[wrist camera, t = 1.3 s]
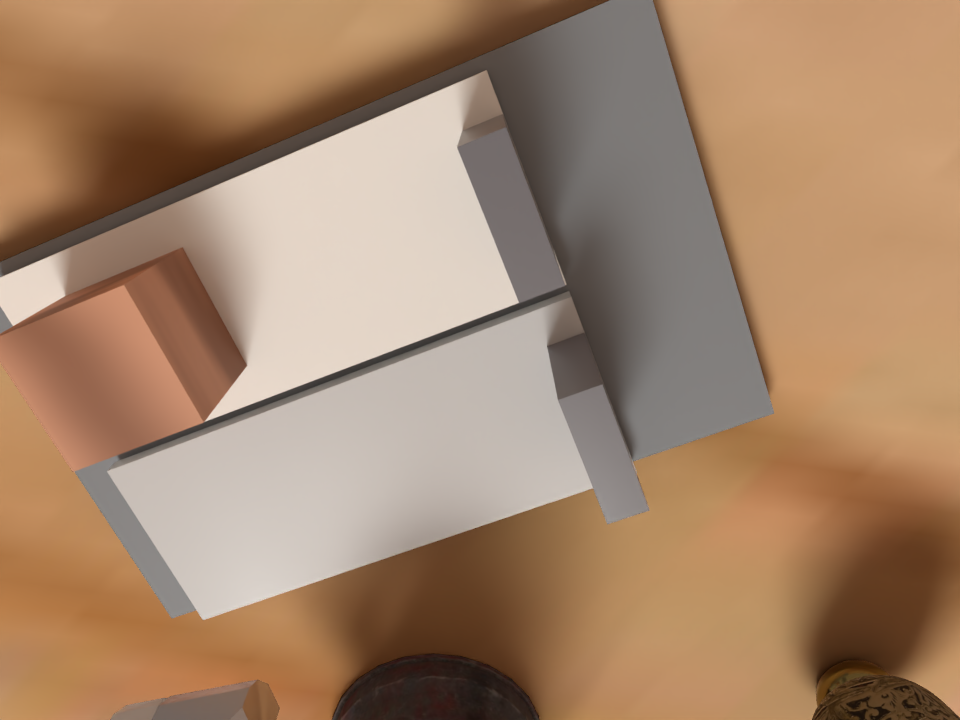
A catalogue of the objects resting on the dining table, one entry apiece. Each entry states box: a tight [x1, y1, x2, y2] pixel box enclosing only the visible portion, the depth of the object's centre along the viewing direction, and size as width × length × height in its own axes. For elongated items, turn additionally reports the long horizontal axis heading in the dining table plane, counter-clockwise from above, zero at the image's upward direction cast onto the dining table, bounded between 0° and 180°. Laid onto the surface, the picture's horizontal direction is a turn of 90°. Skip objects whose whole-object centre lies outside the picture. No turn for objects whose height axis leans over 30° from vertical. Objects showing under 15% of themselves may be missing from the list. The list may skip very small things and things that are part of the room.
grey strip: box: [107, 291, 649, 620], centre depth 30 cm, size 20×8×6 cm, turn 112°
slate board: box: [0, 0, 774, 618], centre depth 32 cm, size 28×17×1 cm, turn 112°
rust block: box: [0, 247, 247, 472], centre depth 28 cm, size 5×5×5 cm
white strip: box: [0, 70, 567, 421], centre depth 27 cm, size 20×8×6 cm, turn 112°
